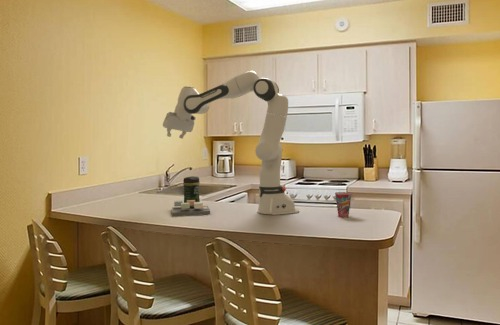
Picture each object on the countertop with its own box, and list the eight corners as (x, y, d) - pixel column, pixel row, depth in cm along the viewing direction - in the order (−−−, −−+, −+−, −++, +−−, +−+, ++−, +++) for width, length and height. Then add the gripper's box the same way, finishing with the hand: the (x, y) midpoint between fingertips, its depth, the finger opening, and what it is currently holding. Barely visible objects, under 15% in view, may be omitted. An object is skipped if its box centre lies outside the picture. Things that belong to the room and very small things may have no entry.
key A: (202, 206, 242) (202, 201, 242) (202, 207, 238) (202, 203, 238) (194, 206, 242) (193, 202, 242) (194, 208, 237) (194, 203, 237)
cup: (339, 218, 218) (339, 194, 217) (332, 215, 226) (331, 192, 226) (356, 217, 221) (356, 193, 220) (348, 214, 229) (348, 191, 228)
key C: (195, 204, 251) (194, 199, 251) (195, 205, 246) (195, 201, 246) (186, 204, 250) (186, 200, 250) (187, 205, 246) (187, 201, 245)
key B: (189, 207, 241) (189, 202, 241) (189, 208, 237) (189, 203, 237) (181, 207, 240) (180, 202, 240) (181, 208, 236) (181, 204, 236)
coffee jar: (192, 209, 254) (191, 177, 252) (181, 208, 258) (180, 177, 257) (202, 207, 262) (201, 176, 261) (192, 206, 266) (191, 175, 265)
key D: (182, 204, 249) (182, 200, 249) (182, 206, 245) (182, 201, 245) (174, 205, 249) (174, 200, 249) (174, 206, 244) (174, 202, 244)
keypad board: (207, 209, 254) (207, 205, 254) (210, 214, 237) (210, 210, 237) (172, 210, 251) (172, 206, 251) (172, 216, 233) (172, 212, 233)
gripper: (171, 112, 241) (164, 136, 243) (197, 118, 257) (191, 140, 259) (164, 109, 245) (157, 133, 247) (190, 115, 261) (184, 137, 263)
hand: (174, 137), depth 253 cm, fingers open, 8 cm apart
